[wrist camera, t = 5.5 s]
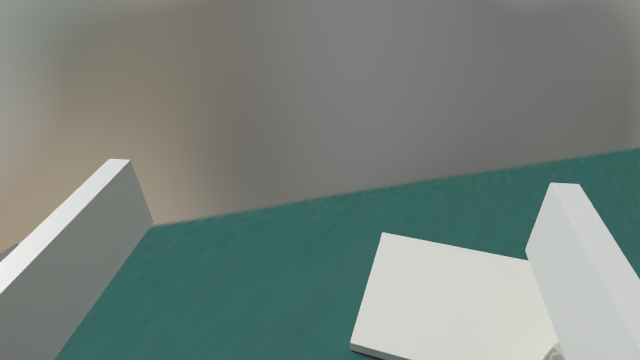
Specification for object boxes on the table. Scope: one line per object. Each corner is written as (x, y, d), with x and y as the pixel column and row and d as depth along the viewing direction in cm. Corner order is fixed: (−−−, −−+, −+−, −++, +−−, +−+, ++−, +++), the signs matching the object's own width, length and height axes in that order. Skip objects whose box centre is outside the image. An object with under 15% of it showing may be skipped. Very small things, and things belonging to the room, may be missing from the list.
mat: (636, 289, 22) (640, 282, 21) (694, 447, 16) (703, 440, 15) (382, 239, 26) (382, 232, 25) (349, 349, 20) (349, 342, 19)
